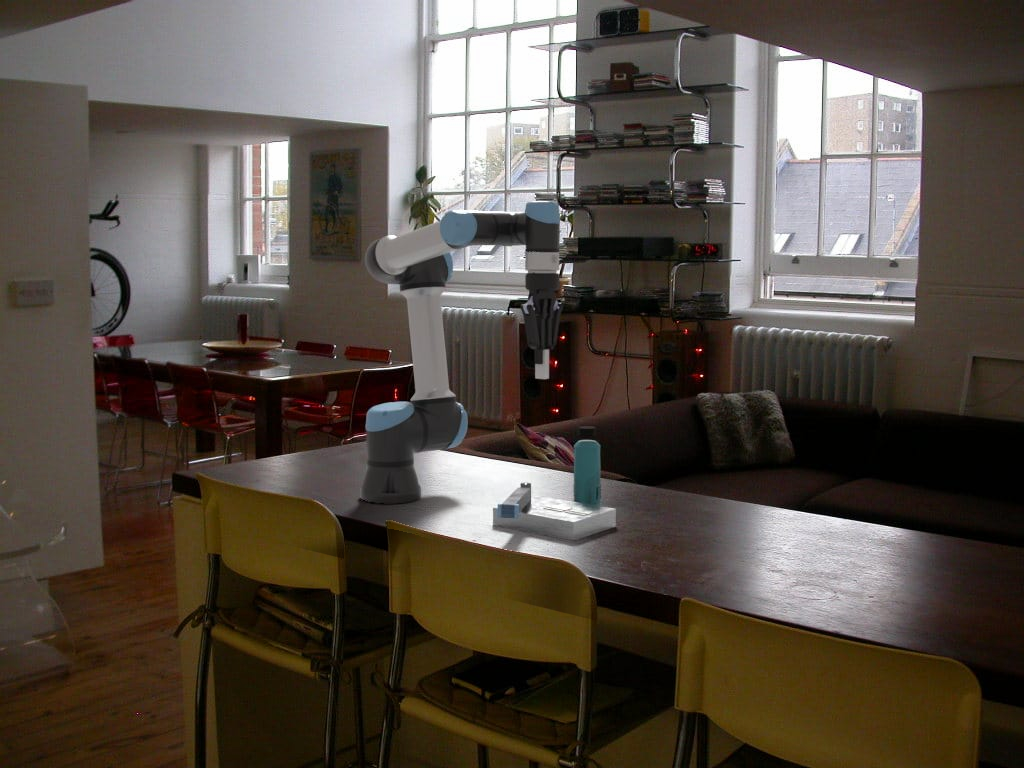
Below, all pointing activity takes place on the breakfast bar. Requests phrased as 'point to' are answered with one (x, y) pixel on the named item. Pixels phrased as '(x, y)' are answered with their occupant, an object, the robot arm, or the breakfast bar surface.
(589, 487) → the beverage bottle
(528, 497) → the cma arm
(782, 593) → the breakfast bar surface
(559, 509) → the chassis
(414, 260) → the robot arm
